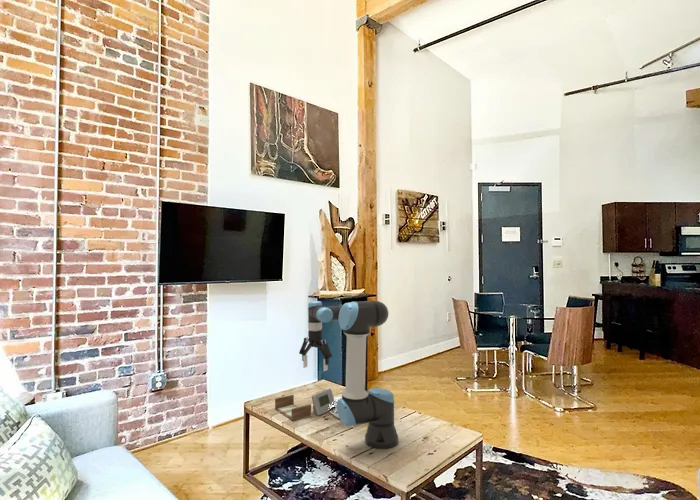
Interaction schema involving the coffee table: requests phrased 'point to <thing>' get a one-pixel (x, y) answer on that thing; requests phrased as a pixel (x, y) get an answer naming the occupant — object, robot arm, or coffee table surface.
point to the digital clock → (322, 401)
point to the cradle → (291, 408)
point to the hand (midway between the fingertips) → (315, 369)
